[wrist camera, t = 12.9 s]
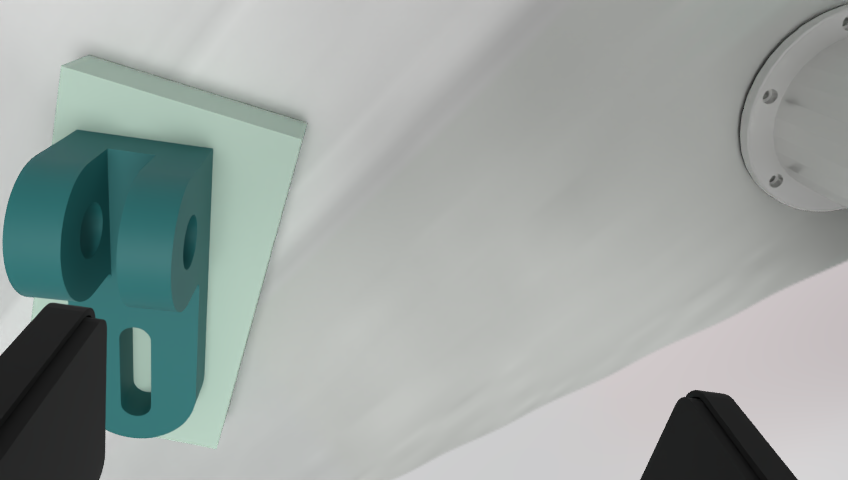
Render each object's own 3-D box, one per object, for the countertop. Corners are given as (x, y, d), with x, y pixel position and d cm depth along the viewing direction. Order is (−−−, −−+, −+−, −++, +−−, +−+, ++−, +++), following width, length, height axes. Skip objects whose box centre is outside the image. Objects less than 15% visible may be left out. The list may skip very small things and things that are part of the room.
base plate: (308, 120, 37) (301, 139, 33) (228, 408, 45) (216, 449, 42) (93, 53, 34) (61, 65, 31) (50, 371, 43) (20, 410, 39)
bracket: (77, 129, 32) (-5, 181, 25) (213, 148, 33) (171, 203, 26) (91, 408, 40) (31, 510, 32) (203, 417, 40) (168, 517, 33)
